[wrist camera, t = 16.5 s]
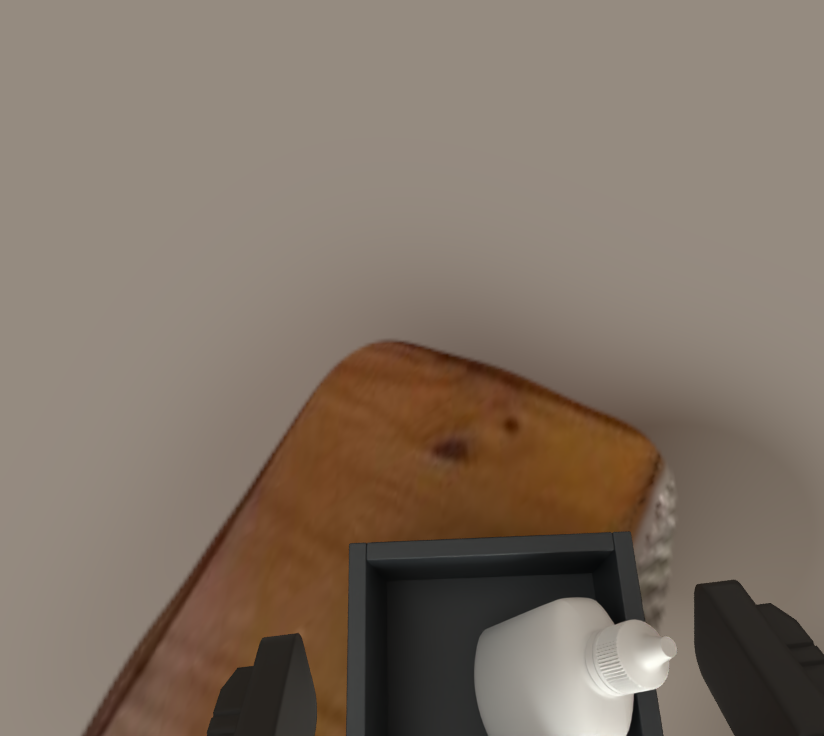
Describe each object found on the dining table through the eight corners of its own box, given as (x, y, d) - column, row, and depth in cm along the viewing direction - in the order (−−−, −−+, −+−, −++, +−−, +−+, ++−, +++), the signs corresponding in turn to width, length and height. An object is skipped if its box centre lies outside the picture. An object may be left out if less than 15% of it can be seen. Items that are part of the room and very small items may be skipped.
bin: (374, 839, 32) (343, 883, 25) (374, 568, 38) (349, 543, 30) (642, 837, 31) (687, 882, 24) (602, 559, 36) (630, 531, 29)
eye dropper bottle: (554, 656, 35) (725, 604, 25) (526, 771, 31) (712, 760, 22) (484, 614, 34) (630, 547, 25) (447, 726, 31) (601, 696, 22)
